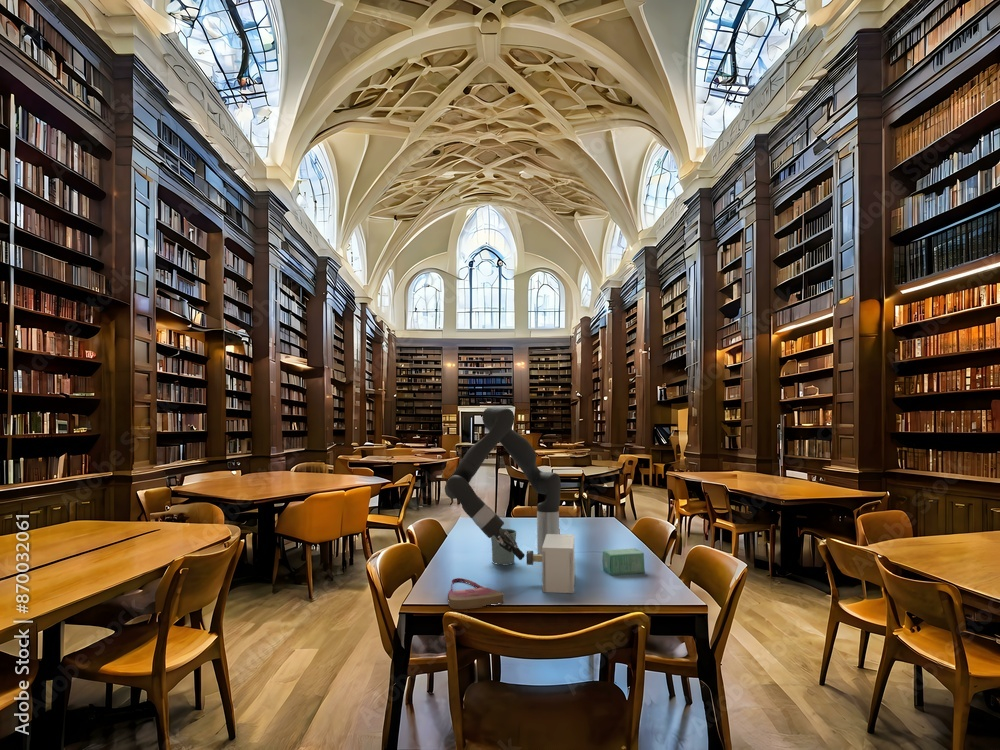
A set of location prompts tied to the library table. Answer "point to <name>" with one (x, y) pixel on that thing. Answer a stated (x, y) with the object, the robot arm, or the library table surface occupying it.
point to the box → (623, 561)
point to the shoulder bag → (473, 596)
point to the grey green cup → (502, 550)
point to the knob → (533, 557)
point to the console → (558, 563)
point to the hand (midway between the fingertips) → (522, 557)
